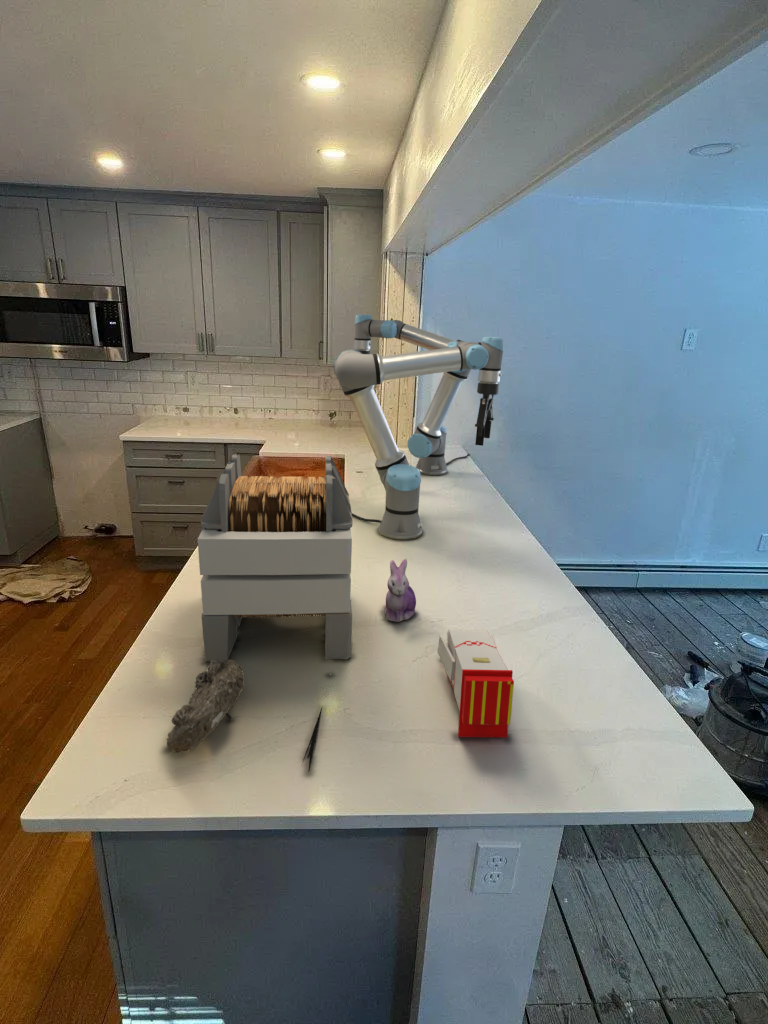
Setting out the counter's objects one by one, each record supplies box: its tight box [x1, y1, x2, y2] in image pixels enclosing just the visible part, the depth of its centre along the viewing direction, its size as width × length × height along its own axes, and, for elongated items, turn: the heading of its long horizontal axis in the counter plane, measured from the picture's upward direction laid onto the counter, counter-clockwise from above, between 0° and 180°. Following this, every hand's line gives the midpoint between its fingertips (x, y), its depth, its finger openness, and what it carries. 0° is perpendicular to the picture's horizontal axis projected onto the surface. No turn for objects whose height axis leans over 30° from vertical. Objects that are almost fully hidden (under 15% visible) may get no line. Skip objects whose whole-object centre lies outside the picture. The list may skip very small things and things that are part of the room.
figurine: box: [384, 558, 417, 623], centre depth 145 cm, size 9×10×15 cm
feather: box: [301, 673, 332, 771], centre depth 108 cm, size 2×28×2 cm
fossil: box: [166, 658, 245, 754], centre depth 106 cm, size 22×10×15 cm
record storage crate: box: [197, 454, 354, 663], centre depth 134 cm, size 34×33×41 cm
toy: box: [437, 628, 515, 738], centre depth 117 cm, size 12×13×30 cm
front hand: (482, 441), depth 208 cm, fingers open, 13 cm apart
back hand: (360, 396), depth 268 cm, fingers open, 13 cm apart
